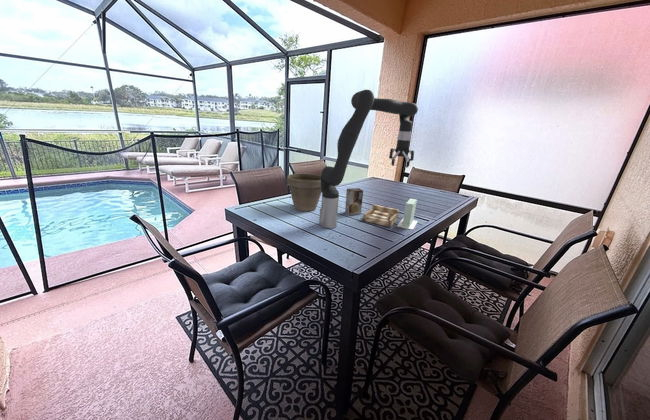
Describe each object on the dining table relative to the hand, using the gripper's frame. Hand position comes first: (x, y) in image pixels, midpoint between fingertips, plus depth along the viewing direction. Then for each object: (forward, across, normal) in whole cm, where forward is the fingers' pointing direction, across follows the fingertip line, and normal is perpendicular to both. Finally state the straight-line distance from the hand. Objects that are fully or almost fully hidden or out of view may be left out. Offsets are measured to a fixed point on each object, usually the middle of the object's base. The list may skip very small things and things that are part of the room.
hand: (399, 166), depth 155 cm
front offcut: (+32, +3, +17) cm, 37 cm away
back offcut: (+32, +4, +14) cm, 35 cm away
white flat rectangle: (+32, -12, +9) cm, 36 cm away
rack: (+32, +4, +13) cm, 35 cm away
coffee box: (+32, +23, +13) cm, 42 cm away
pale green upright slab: (+32, -12, +9) cm, 35 cm away
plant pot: (+32, +52, +25) cm, 66 cm away
